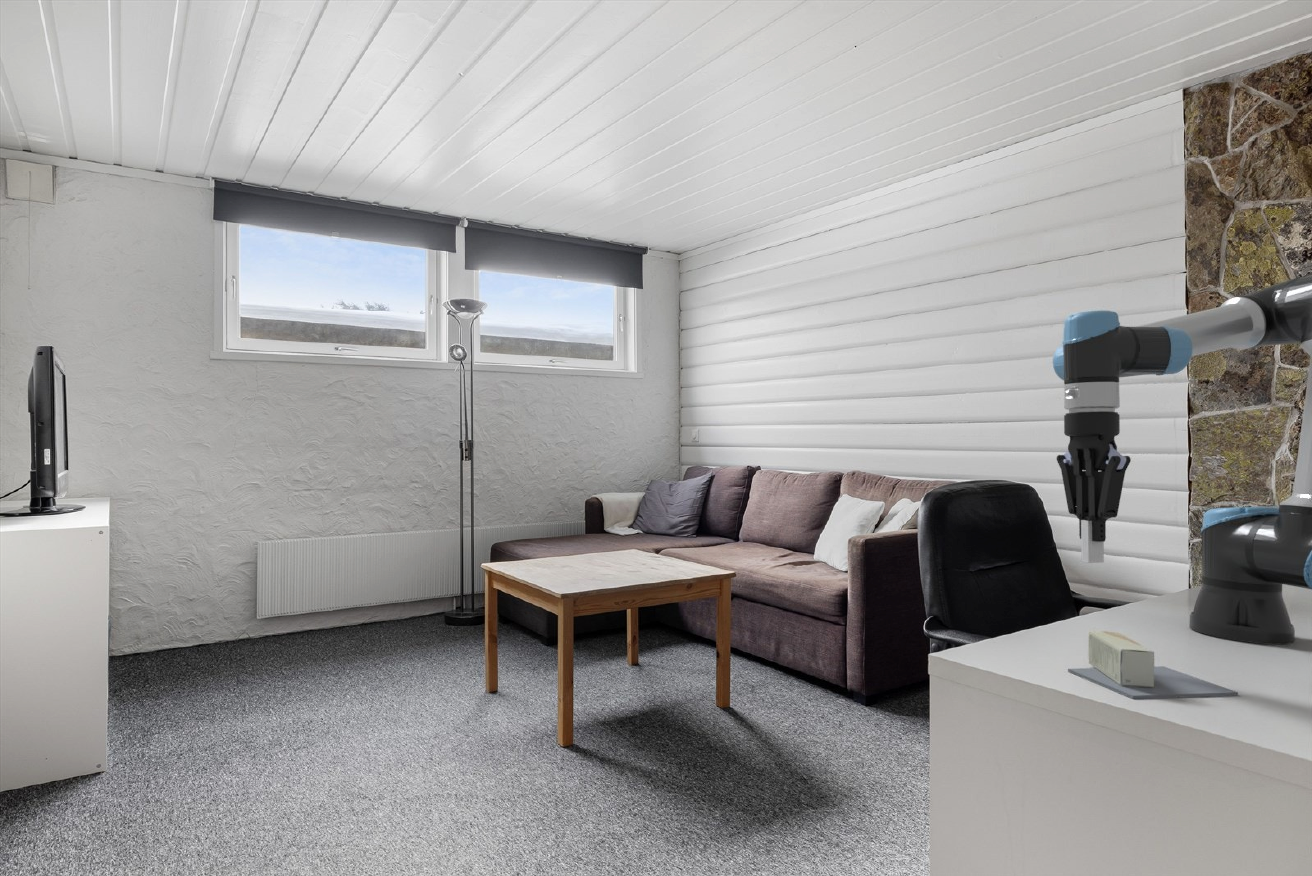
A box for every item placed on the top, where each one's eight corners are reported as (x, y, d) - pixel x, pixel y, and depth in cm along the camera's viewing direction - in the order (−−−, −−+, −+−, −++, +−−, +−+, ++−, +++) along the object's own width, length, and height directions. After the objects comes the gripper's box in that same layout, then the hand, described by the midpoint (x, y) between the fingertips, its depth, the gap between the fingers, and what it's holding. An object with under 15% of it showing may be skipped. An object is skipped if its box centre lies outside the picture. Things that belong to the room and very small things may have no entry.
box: (1118, 665, 112) (1154, 690, 101) (1087, 663, 113) (1119, 688, 102) (1119, 630, 112) (1155, 651, 101) (1088, 628, 113) (1120, 649, 102)
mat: (1163, 669, 112) (1163, 666, 112) (1238, 695, 101) (1238, 692, 101) (1068, 671, 110) (1068, 668, 110) (1132, 698, 98) (1132, 695, 98)
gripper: (1041, 412, 123) (1042, 556, 123) (1101, 409, 111) (1103, 569, 110) (1081, 413, 125) (1083, 555, 124) (1146, 409, 112) (1147, 567, 112)
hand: (1092, 561), depth 117 cm, fingers closed
